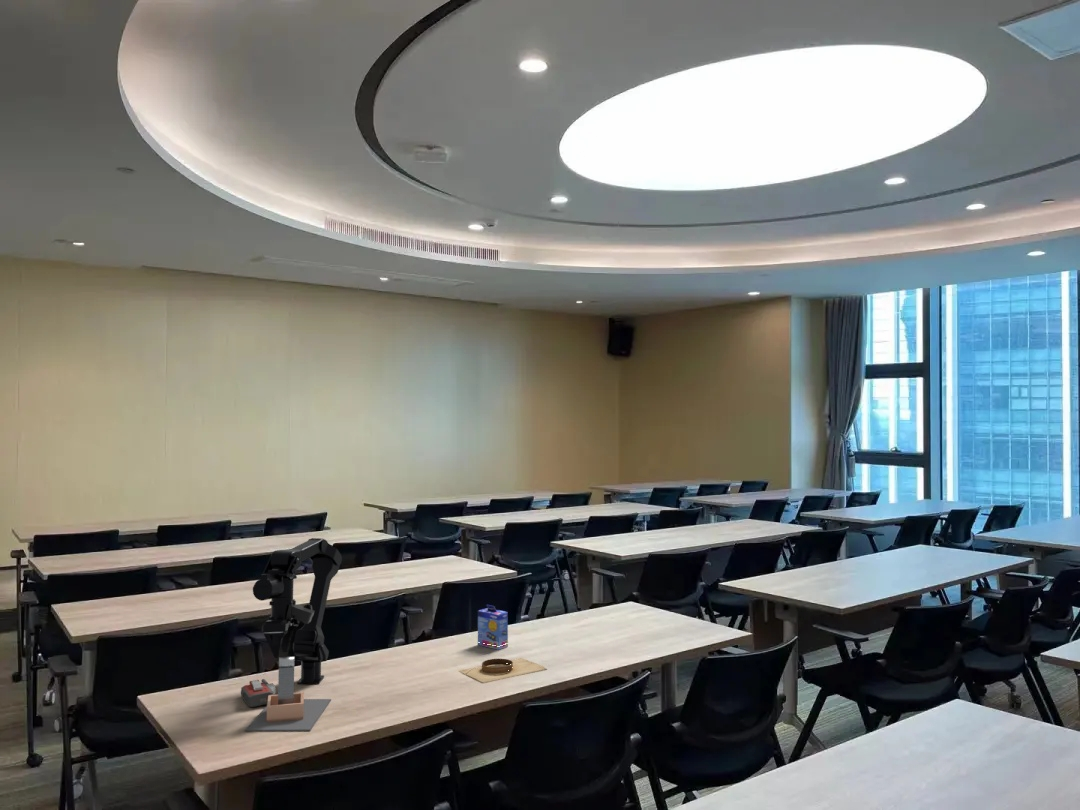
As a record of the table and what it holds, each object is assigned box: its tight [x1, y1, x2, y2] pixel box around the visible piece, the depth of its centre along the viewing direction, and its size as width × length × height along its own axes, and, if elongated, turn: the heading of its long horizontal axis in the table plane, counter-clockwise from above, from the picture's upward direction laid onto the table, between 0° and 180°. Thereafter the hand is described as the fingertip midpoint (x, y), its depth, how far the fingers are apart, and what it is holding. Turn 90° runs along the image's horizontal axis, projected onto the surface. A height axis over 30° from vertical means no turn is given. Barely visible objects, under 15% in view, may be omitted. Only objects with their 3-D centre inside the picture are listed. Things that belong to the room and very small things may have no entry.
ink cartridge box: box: [477, 604, 509, 651], centre depth 270 cm, size 10×6×14 cm, turn 54°
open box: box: [266, 691, 305, 723], centre depth 201 cm, size 9×9×4 cm
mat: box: [244, 698, 332, 732], centre depth 202 cm, size 22×16×1 cm
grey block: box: [277, 655, 295, 705], centre depth 202 cm, size 3×4×14 cm
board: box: [458, 657, 548, 684], centre depth 242 cm, size 25×15×3 cm, turn 127°
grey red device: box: [240, 678, 277, 708], centre depth 216 cm, size 9×4×20 cm
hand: (280, 655), depth 212 cm, fingers open, 9 cm apart
